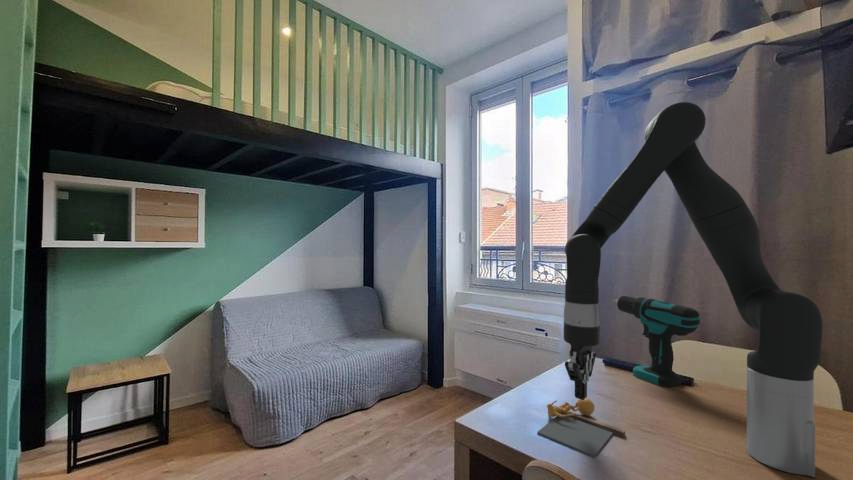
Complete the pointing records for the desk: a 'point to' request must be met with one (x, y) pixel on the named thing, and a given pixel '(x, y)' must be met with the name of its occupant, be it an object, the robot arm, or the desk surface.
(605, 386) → the desk surface
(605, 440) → the mat
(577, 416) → the bar
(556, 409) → the figurine
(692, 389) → the desk surface
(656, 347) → the power drill
